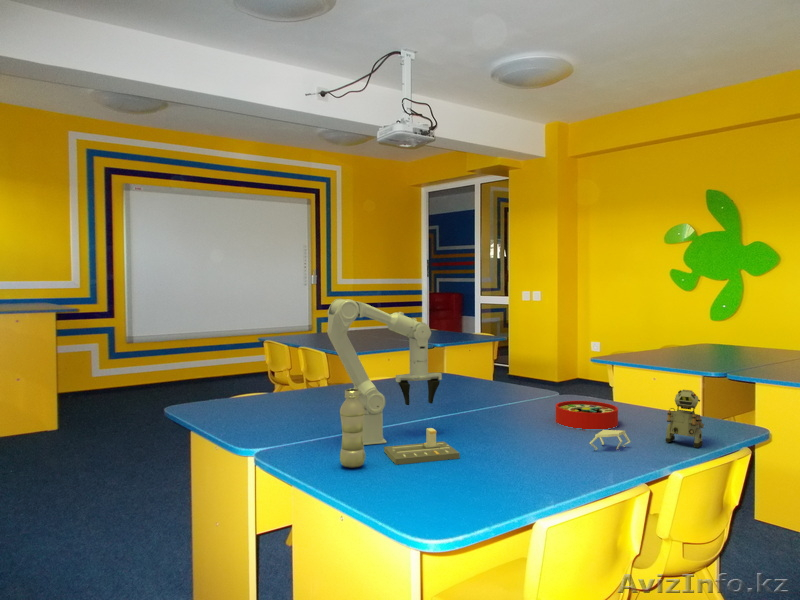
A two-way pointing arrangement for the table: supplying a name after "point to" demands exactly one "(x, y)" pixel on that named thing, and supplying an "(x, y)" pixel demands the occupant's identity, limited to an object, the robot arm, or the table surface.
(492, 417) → the table surface
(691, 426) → the figurine
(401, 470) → the table surface
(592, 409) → the red round tray
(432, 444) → the fader
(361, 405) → the plastic bottle
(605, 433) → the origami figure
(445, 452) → the console
